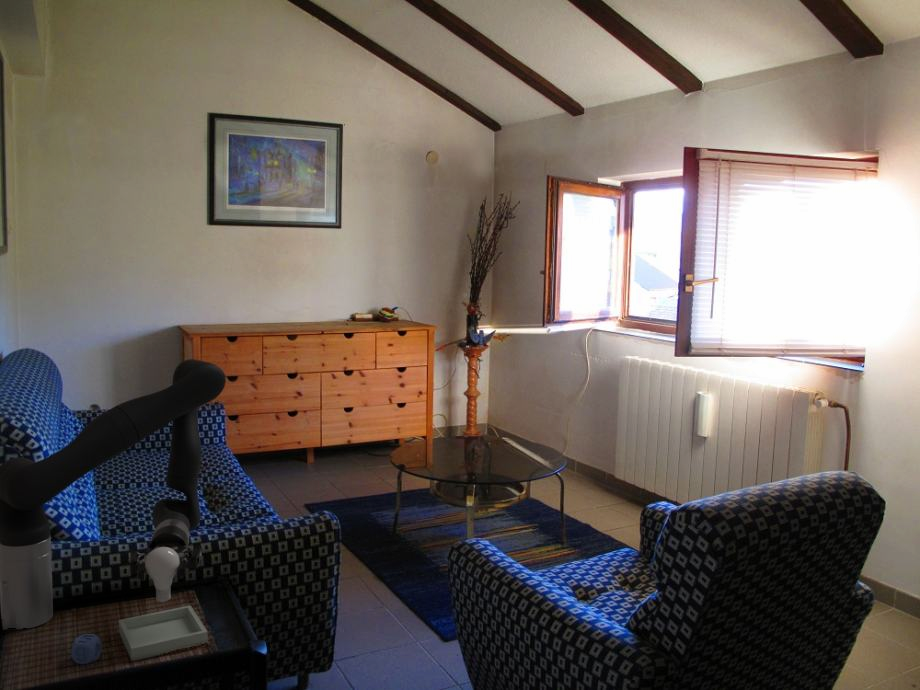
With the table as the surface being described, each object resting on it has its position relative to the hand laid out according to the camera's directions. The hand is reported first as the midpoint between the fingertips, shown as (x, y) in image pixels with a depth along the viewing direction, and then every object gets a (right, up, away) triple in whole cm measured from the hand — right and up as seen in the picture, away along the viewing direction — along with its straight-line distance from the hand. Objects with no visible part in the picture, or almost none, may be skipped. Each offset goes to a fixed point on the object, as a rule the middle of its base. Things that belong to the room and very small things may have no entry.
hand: (161, 575), depth 159 cm
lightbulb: (-1, -6, +3) cm, 7 cm away
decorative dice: (-12, -15, -5) cm, 20 cm away
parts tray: (-1, -13, +4) cm, 14 cm away
